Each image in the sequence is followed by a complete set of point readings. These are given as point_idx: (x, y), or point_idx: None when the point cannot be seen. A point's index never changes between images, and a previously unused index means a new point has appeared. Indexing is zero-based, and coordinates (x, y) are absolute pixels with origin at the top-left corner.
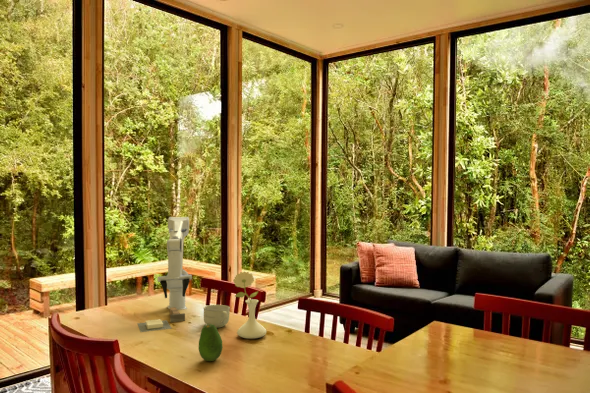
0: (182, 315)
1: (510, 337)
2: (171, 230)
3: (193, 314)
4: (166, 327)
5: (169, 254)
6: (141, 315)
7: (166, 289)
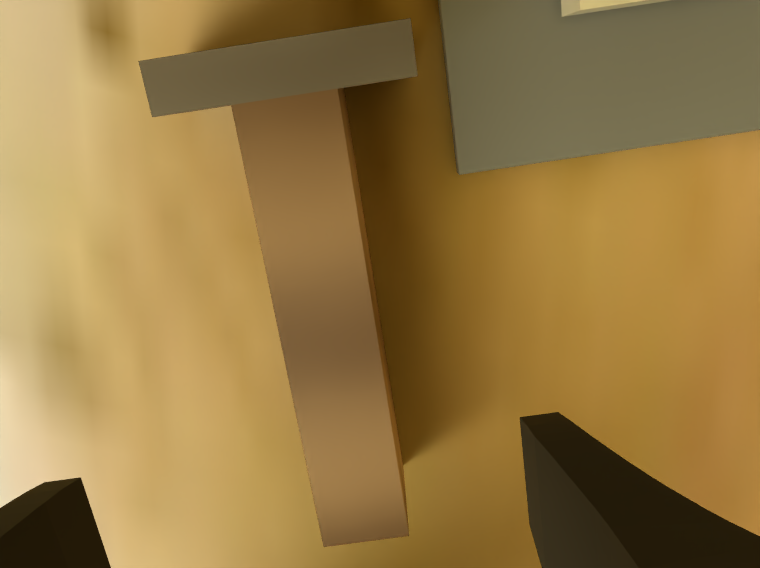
0: (192, 56)
1: None
2: None
3: (82, 432)
4: None
5: None
6: None
7: (643, 548)
